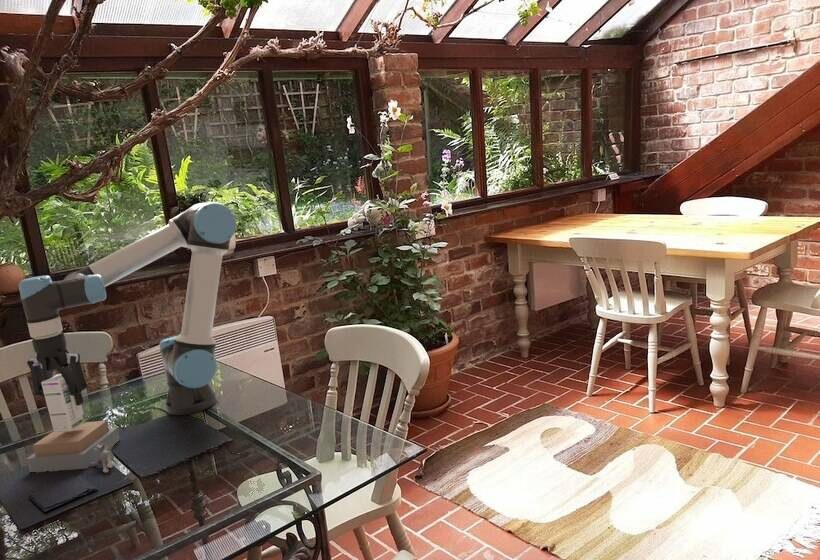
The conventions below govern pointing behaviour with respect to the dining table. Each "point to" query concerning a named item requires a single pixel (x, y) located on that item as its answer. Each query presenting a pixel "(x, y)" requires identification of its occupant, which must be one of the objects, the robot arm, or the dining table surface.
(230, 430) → the dining table surface
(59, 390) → the syrup box
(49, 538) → the dining table surface
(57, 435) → the display podium
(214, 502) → the dining table surface
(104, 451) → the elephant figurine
